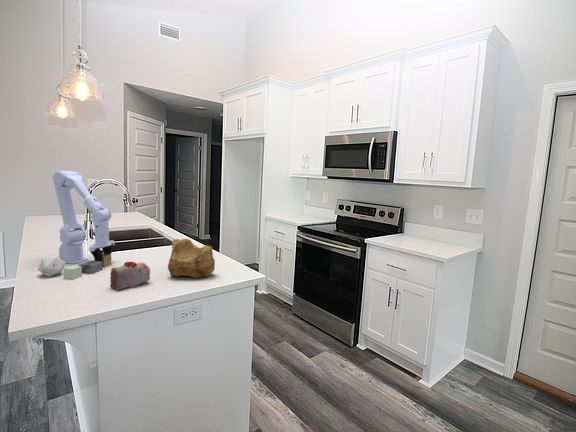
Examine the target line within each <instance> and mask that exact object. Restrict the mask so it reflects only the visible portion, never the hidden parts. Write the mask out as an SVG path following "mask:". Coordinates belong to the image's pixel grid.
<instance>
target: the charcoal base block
mask: <svg viewBox="0 0 576 432" xmlns="http://www.w3.org/2000/svg"><path fill="white" fill-rule="evenodd" d="M78 265H79V266H82V274H89V275H94V274H96V273H98V272H101V271H103V268H104V267H102V262H100V261H94V260H86V261H83V262H81V263H78Z"/></svg>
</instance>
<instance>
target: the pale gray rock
mask: <svg viewBox="0 0 576 432" xmlns="http://www.w3.org/2000/svg"><path fill="white" fill-rule="evenodd" d="M66 264H67V263H66V262H65V261H63V260H62V259H60V258H59V256H57V255H56V254H54V255H49V256H45V257H42V258H41V261H40V263H39V266H38V268H37V271H39V272H40V273H42V274H44V275H45V276H46V277H47V278H50V277H51V278H52V277H54V276H57V275H61V274H62V273H63V271H64V270H63V268H65V266H66Z"/></svg>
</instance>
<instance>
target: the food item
mask: <svg viewBox="0 0 576 432" xmlns="http://www.w3.org/2000/svg"><path fill="white" fill-rule="evenodd" d="M109 279H110V280H109V281H110V284H109V287H110V288H111V289H114V290H115V291H119V290H124V289H127V288H135V287H137V286H140V285H144V284H146V283H147V282H149V281H150V279H151V268H150V267H149V266H148V264H146V263H145V262H143V261H141V262H134V261H126V262H124V264H123V265H120V266H115V267H112V268H111V269H110V278H109Z"/></svg>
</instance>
